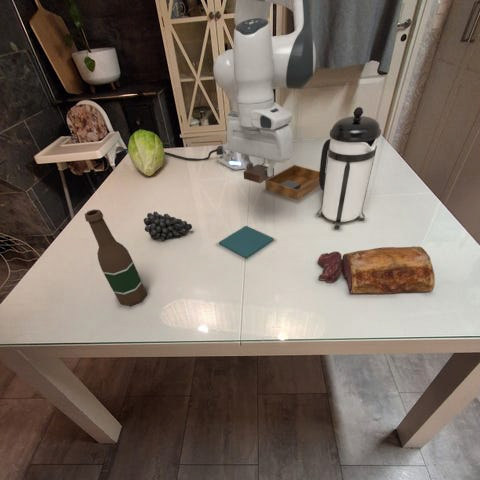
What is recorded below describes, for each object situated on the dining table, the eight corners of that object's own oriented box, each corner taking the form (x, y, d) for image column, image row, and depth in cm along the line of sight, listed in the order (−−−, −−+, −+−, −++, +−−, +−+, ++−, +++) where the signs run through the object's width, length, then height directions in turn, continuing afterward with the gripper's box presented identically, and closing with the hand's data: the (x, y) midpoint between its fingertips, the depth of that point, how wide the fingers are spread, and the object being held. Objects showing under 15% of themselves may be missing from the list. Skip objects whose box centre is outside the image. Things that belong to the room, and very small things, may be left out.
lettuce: (171, 184, 137) (139, 193, 138) (166, 148, 146) (136, 157, 148) (158, 157, 124) (122, 168, 125) (154, 119, 133) (121, 129, 134)
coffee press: (368, 208, 99) (395, 98, 77) (359, 233, 90) (387, 116, 68) (316, 201, 105) (327, 98, 83) (303, 224, 96) (312, 115, 73)
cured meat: (311, 256, 84) (314, 235, 79) (402, 249, 83) (410, 227, 78) (324, 301, 72) (328, 279, 67) (431, 294, 70) (443, 271, 65)
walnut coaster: (244, 178, 83) (243, 171, 82) (258, 171, 86) (257, 163, 85) (259, 183, 80) (259, 175, 79) (274, 175, 83) (274, 168, 81)
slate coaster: (277, 190, 112) (277, 185, 111) (288, 185, 115) (288, 179, 113) (290, 195, 109) (290, 189, 107) (300, 189, 111) (300, 183, 110)
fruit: (189, 204, 92) (141, 207, 93) (188, 225, 89) (138, 228, 89) (194, 223, 100) (150, 226, 101) (193, 243, 97) (148, 246, 97)
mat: (219, 244, 92) (218, 242, 92) (246, 227, 97) (246, 225, 97) (246, 258, 86) (246, 256, 85) (273, 240, 91) (273, 238, 91)
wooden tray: (265, 191, 114) (265, 180, 111) (293, 175, 121) (294, 164, 118) (297, 202, 106) (297, 190, 103) (325, 184, 113) (326, 173, 110)
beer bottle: (121, 289, 82) (78, 205, 64) (149, 285, 82) (114, 201, 64) (115, 308, 77) (67, 224, 59) (145, 305, 76) (106, 219, 59)
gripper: (218, 113, 76) (225, 169, 86) (280, 122, 66) (280, 185, 76) (235, 107, 79) (240, 162, 89) (297, 114, 68) (295, 176, 78)
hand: (259, 173), depth 82 cm, fingers closed on walnut coaster, 6 cm apart
